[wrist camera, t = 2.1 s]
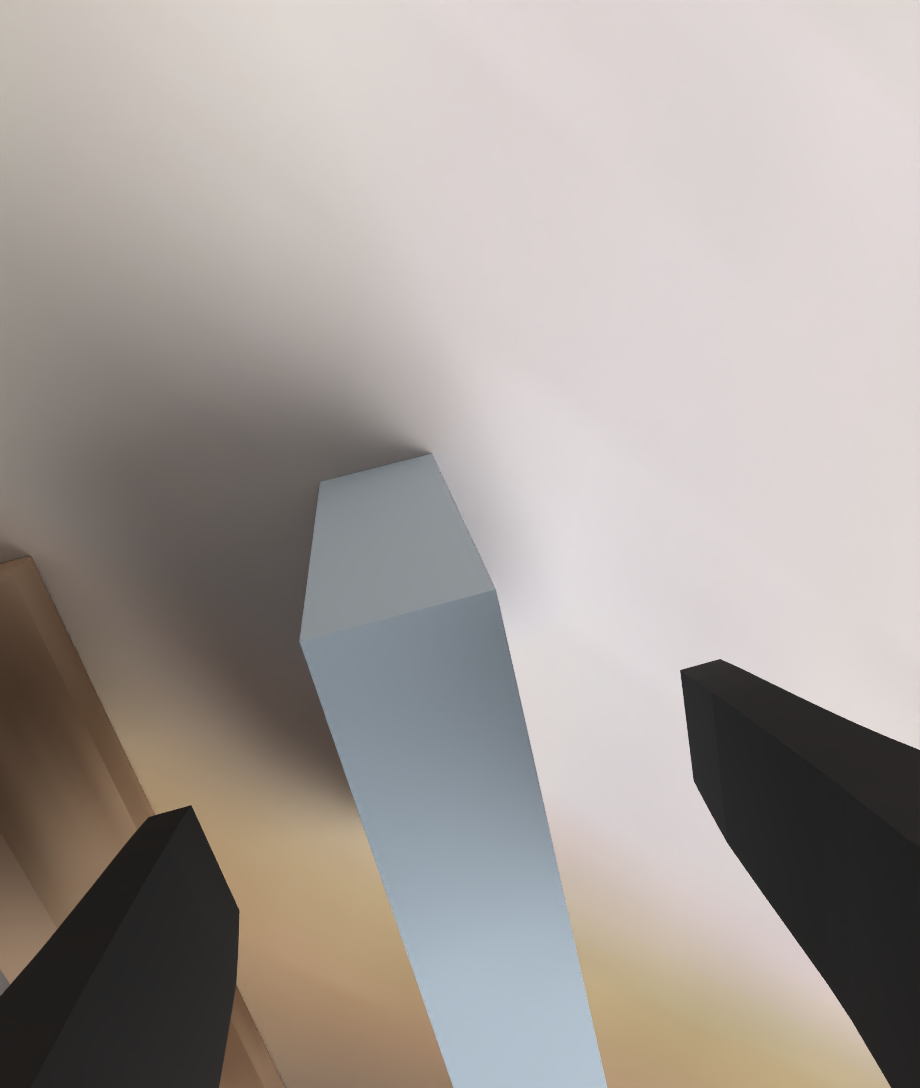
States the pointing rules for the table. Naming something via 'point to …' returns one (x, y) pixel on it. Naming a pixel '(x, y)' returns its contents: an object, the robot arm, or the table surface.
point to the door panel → (445, 776)
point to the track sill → (68, 796)
